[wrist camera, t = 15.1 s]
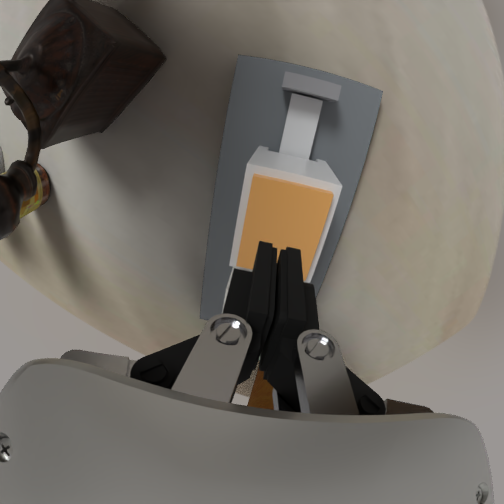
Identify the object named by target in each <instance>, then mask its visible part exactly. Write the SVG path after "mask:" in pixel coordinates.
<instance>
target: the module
mask: <svg viewBox="0 0 504 504" xmlns="http://www.w3.org/2000/svg"><path fill="white" fill-rule="evenodd" d="M268 149H269V148H268V147H263V146H259V147H258V148H257V150H256V151H255V152H254V154H253V155H252V157H251V158H250V160H249V161H248V163H247V166H246V172H245V177H244V183H243V188H242V194H241V199H240V205H239V211H238V216H237V222H236V228H235V234H234V240H233V246H232V252H231V258H230V264H229V266H233V267H237V268H242V269H246V270H251V271H252V270H253V266H254V262H255V257H256V253H257V249H258V244H259V241H263V242H268V243H273V247H274V248H277V261H278V257H279V254H280V251H281V249H284V250H286V247H292V248H296V249H300V250H301V259H302V270H303V281H304V282H307V283H310V282H311V279H312V276H313V274H314V271H315V268H316V265H317V262H318V260H319V257H320V254H321V251H322V248H323V245H324V242H325V239H326V236H327V233H328V230H329V227H330V224H331V221H332V218H333V215H334V212H335V209H336V206H337V203H338V199H339V196H340V193H341V190H342V184H341V183H340V181H339V180H338V178H337V177H336V176H335V174H334V173H333V171H332V170H331V168H330V167H329V165H328V164H327V163H326V161H323V160H319V159H316V161H312V160H308V159H304V158H300V157H296V156H291V155H287V154H283V153H278V152H273V151H269V150H268Z"/></svg>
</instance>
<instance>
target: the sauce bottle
mask: <svg viewBox="0 0 504 504" xmlns="http://www.w3.org/2000/svg"><path fill="white" fill-rule="evenodd" d="M34 173H35V175H36V177H37V183H38V184H37V191H36V195H34V196H33V197H32V198H30V199H29V200H27V201H23V203H22V207H21V210H20V218H22V217H24V216H25V215H27V214H29V213H30V212H32V211H34V210H36V209H37V208H38V207H39V206H41V205H42V204H44V203H45V202H46V201H47V199H48V197H49V193H50V187H49V179H48V176H47V173H46V172H45V170H44V169H43V167H42V166H41V165H40V164H38V163H37V166H36V169H35V171H34ZM2 174H6V172H5V173H2ZM2 174H0V175H2Z"/></svg>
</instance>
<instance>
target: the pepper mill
mask: <svg viewBox="0 0 504 504" xmlns="http://www.w3.org/2000/svg"><path fill="white" fill-rule="evenodd" d="M165 60H166V58H165V56H164V54H163V53H162V51H161V50H160V48H159V47H158V46H157V45H156V44H155V43H154V42H153V41H152V40H151V39H150V38H149V37H148V36H147V35H146V34H144V33H143V32H142V31H141V30H140V29H139V28H138V27H137V26H136V25H134V24H133V23H132V22H131V21H129V20H128V19H127V18H126V17H124V16H123V15H122V14H120V13H119V12H118V11H117V10H115V9H114V8H112V7H108V6H105V5H102V4H99V3H97V2H94V1H91V0H49V1H48V3H47V4H46V5H45V7H44V8H43V9H42V11H41V12H40V13H39V15H38V16H37V18H36V19H35V21H34V22H33V24H32V25H31V27H30V28H29V30H28V31H27V33H26V35H25V36H24V38H23V40H22V41H21V43H20V45H19V46H18V48H17V50H16V52H15V53H14V55H13V57H12V59H11V60H5V61H0V86H1V87H2V89H3V91H4V93H5V95H6V97H7V98H6V99H5V104H6V105H10V106H11V110H12V112H13V113H14V115H15V116H16V117H17V118H18V119H19V120H21V122H22V123H23V125H24V126H25V128H26V129H27V131H28V148H27V152H26V155H25V160H24V161H20V160H17V161H15V162H13V163H12V164H11V166H10V168H9V169H8V171H7V172H6V174H2V175H0V240H1V239H3V238H5V237H7V236H8V235H9V234H10V233H12V232H13V231H14V230H15V228H16V227H17V226H18V224H19V223H20V210H21V207H22V203H23V201H27V200H29V199H30V198H32V197H33V196H34V195H36V191H37V184H38V183H37V177H36V175H35V173H34V171H35V169H36V166H37V162H38V157H39V153H40V149H45V148H47V147H49V146H52V145H55V144H58V143H61V142H64V141H68V140H71V139H74V138H77V137H81V136H84V135H88V134H92V133H96V132H101V133H102V132H103V131H104V130H105V129H106V128H107V127H108V126H109V125H110V124H111V123H112V122H113V121H114V120H115V119H116V118H117V117H118V116H119V115H120V113H121V112H122V111H123V110H124V109H125V108H126V106H127V105H128V104H129V103H130V102H131V101H132V100H133V98H134V97H135V96H136V95H137V94H138V93H139V92H140V91H141V89H142V88H143V87H144V86H145V85H146V84H147V83H148V82H149V81H150V79H151V78H152V77H153V75H154V74H155V73H156V72H157V70H158V69H159V68H160V67H161V65H162V64H163V63H164V62H165Z"/></svg>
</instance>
